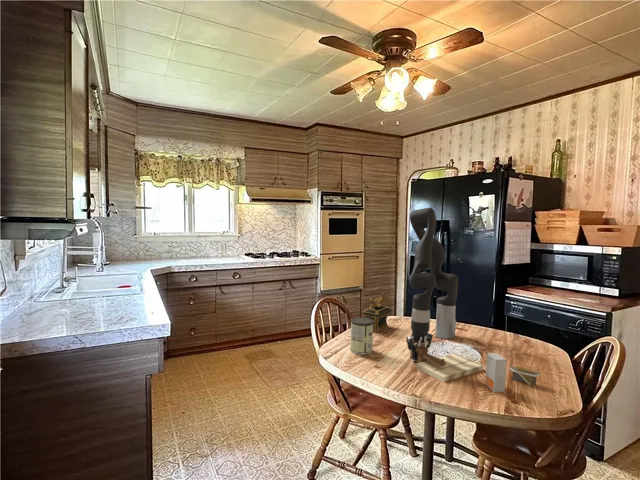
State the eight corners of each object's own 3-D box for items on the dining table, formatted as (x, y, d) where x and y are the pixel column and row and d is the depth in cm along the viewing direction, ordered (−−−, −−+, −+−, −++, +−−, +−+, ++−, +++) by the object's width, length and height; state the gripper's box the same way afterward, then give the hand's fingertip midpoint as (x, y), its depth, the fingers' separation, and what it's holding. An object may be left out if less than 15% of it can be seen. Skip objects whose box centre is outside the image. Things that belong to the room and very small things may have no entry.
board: (454, 357, 157) (454, 353, 157) (483, 369, 145) (483, 364, 145) (415, 368, 145) (416, 363, 145) (443, 382, 133) (444, 376, 133)
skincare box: (484, 384, 132) (486, 353, 132) (495, 384, 133) (497, 352, 132) (493, 392, 126) (495, 359, 125) (505, 392, 127) (507, 359, 126)
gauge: (415, 356, 155) (416, 342, 155) (446, 370, 141) (447, 356, 141) (408, 357, 153) (409, 344, 153) (440, 372, 139) (440, 357, 139)
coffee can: (352, 345, 169) (353, 316, 169) (374, 348, 166) (375, 318, 165) (347, 352, 160) (348, 321, 159) (370, 356, 156) (371, 324, 156)
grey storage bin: (552, 397, 125) (553, 379, 124) (495, 383, 134) (496, 366, 134) (551, 384, 135) (552, 367, 134) (498, 372, 144) (499, 356, 144)
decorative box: (377, 333, 187) (378, 297, 186) (361, 329, 193) (362, 294, 192) (394, 325, 203) (396, 291, 202) (379, 322, 209) (381, 289, 208)
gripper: (425, 315, 157) (423, 353, 158) (401, 319, 150) (400, 358, 151) (439, 319, 151) (437, 359, 152) (415, 323, 143) (413, 365, 144)
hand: (418, 358), depth 151 cm, fingers closed on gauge, 4 cm apart
